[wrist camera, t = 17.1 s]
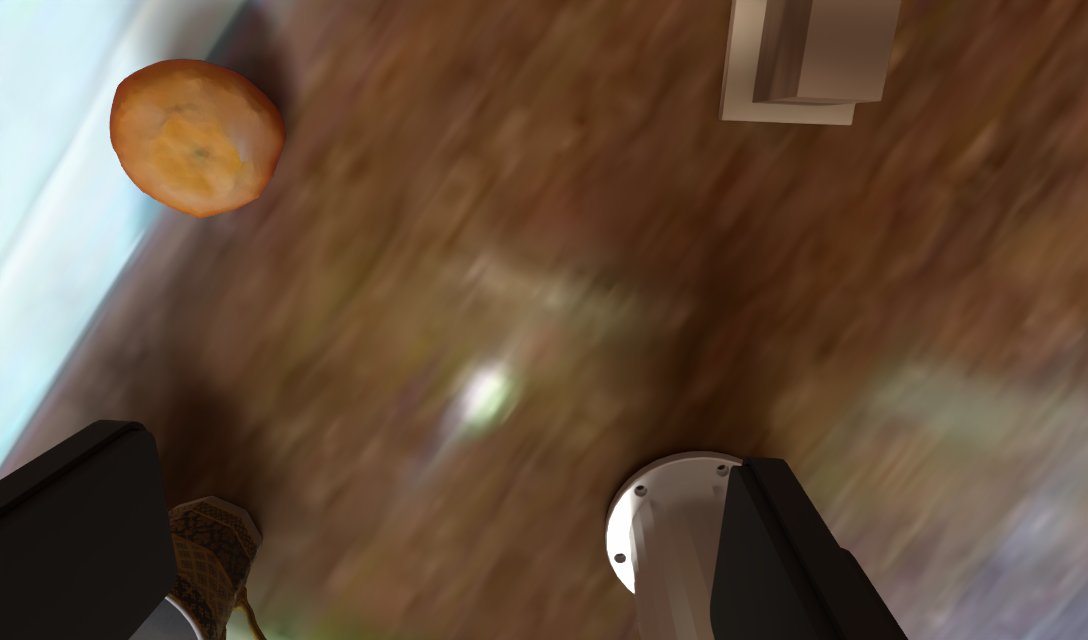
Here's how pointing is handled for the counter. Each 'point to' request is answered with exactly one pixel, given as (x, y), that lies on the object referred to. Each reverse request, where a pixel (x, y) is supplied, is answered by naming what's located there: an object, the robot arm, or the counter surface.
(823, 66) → the brown block
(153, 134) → the fruit
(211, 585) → the ceramic cup
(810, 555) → the robot arm
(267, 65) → the counter surface
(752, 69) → the rest board
